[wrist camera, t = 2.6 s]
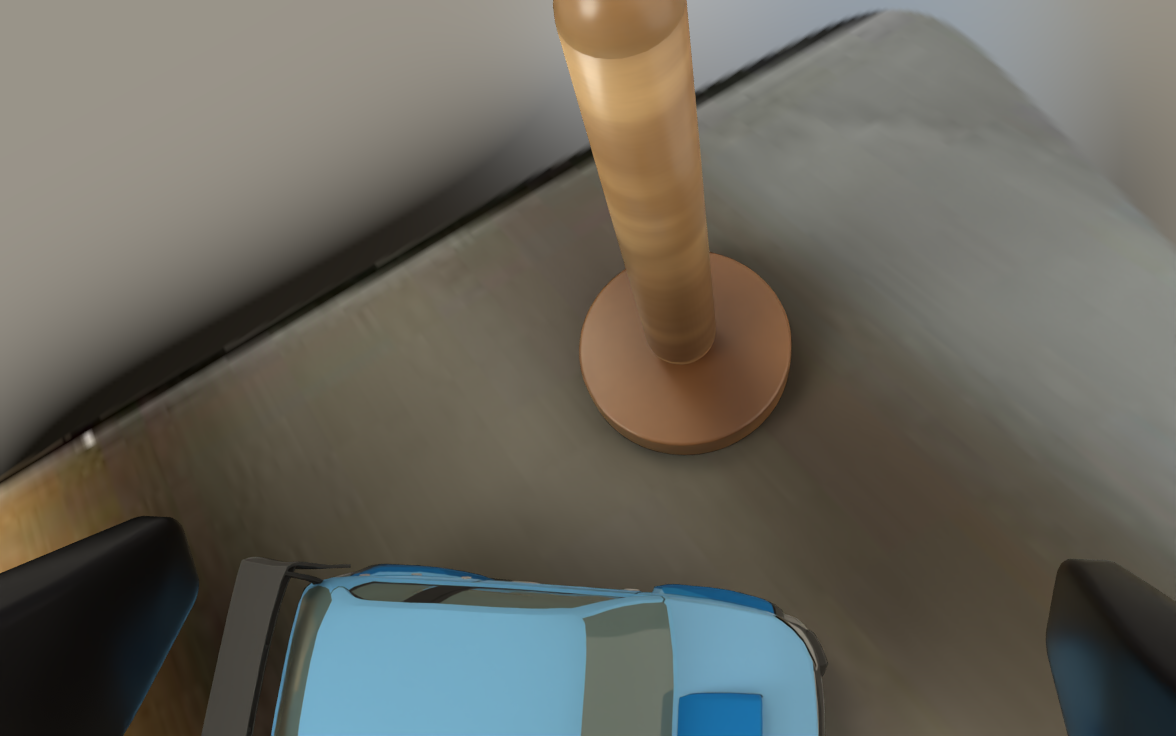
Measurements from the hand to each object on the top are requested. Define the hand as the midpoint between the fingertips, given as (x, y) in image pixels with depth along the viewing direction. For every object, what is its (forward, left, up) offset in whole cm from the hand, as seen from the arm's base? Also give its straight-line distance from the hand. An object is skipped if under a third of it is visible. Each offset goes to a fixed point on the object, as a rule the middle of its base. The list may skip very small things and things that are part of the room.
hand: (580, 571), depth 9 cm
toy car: (-3, 0, -13) cm, 14 cm away
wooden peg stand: (+5, +6, -13) cm, 15 cm away
